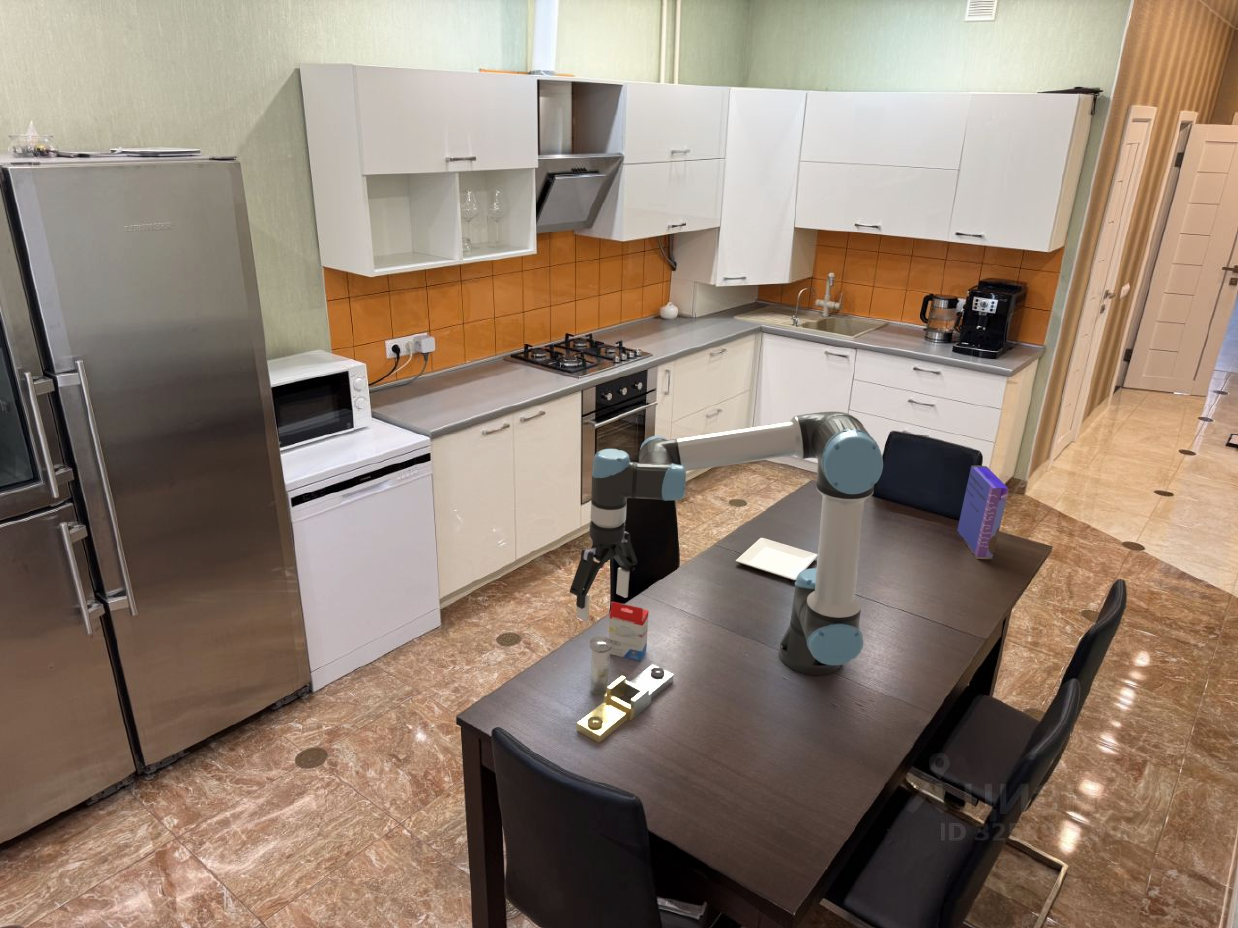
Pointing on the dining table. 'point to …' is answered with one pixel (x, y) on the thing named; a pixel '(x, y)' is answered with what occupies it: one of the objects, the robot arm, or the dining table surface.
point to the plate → (777, 558)
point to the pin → (600, 664)
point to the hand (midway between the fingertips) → (602, 606)
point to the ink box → (628, 631)
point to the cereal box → (982, 510)
